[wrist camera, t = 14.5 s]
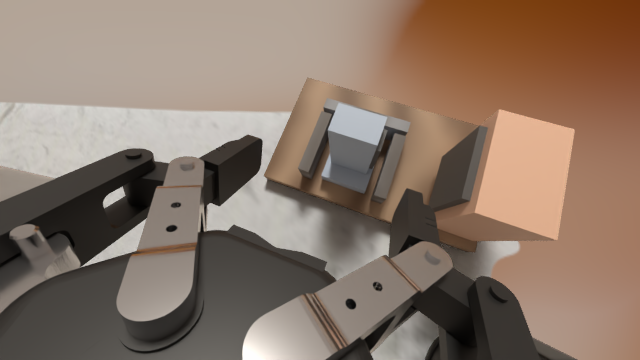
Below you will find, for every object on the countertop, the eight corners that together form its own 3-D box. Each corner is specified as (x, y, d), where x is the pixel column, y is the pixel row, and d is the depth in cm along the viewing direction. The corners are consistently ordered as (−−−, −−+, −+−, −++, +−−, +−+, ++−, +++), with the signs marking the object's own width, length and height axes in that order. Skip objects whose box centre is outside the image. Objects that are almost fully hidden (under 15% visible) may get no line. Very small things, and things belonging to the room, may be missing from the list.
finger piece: (322, 179, 28) (313, 147, 18) (339, 133, 29) (340, 83, 20) (364, 193, 27) (376, 168, 18) (380, 146, 28) (400, 99, 19)
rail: (267, 178, 30) (255, 168, 25) (308, 84, 33) (304, 60, 28) (467, 251, 26) (493, 253, 22) (494, 137, 29) (521, 119, 24)
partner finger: (417, 221, 26) (465, 209, 16) (437, 154, 27) (490, 107, 18) (472, 241, 25) (557, 240, 15) (488, 170, 26) (574, 129, 17)
